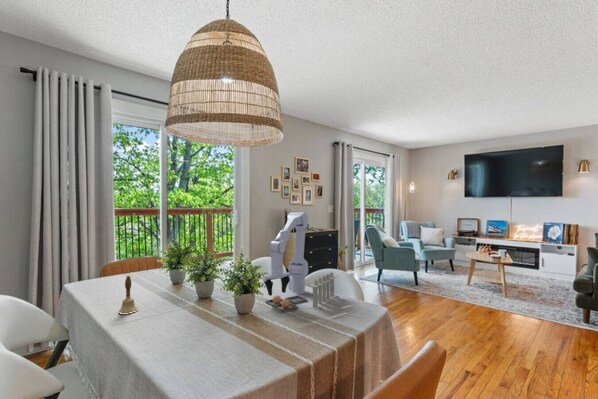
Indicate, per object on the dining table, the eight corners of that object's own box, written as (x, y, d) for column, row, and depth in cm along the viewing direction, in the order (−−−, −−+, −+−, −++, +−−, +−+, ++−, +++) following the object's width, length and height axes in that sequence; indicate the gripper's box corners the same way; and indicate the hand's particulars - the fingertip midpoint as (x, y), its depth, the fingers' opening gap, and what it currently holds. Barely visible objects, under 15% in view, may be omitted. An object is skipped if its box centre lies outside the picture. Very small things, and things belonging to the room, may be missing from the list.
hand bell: (113, 313, 139) (113, 277, 139) (130, 307, 146) (130, 273, 147) (125, 316, 135) (125, 279, 135) (142, 310, 143) (142, 275, 143)
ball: (279, 307, 145) (279, 299, 145) (286, 305, 147) (286, 297, 147) (284, 310, 141) (284, 301, 141) (291, 308, 144) (291, 299, 144)
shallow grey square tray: (284, 301, 156) (284, 298, 156) (297, 298, 160) (297, 295, 160) (293, 305, 149) (293, 302, 149) (307, 302, 154) (307, 299, 154)
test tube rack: (316, 311, 142) (316, 282, 142) (308, 309, 144) (308, 281, 144) (338, 296, 163) (338, 271, 163) (330, 295, 165) (330, 270, 165)
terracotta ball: (271, 303, 151) (271, 295, 151) (278, 301, 153) (278, 293, 153) (275, 305, 148) (275, 297, 148) (282, 303, 150) (282, 295, 150)
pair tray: (265, 303, 151) (265, 300, 151) (279, 300, 156) (279, 297, 156) (283, 313, 138) (283, 310, 138) (297, 309, 143) (297, 306, 143)
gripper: (267, 269, 143) (268, 298, 143) (293, 265, 151) (293, 293, 151) (260, 266, 149) (260, 294, 149) (286, 262, 157) (286, 289, 157)
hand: (276, 293), depth 150 cm, fingers open, 7 cm apart
